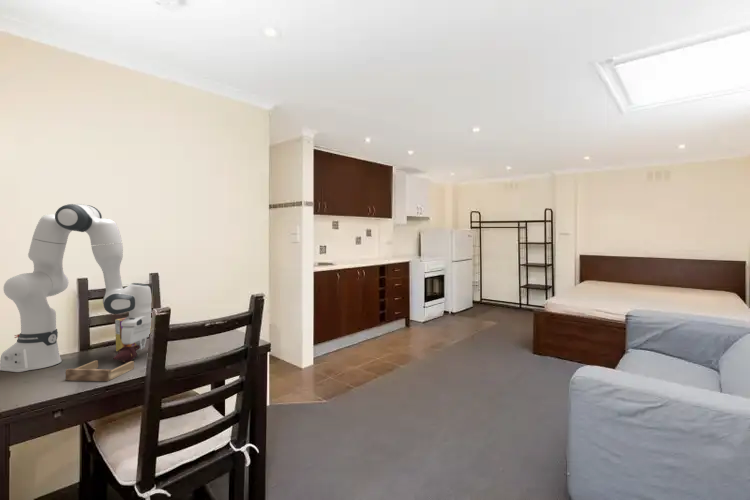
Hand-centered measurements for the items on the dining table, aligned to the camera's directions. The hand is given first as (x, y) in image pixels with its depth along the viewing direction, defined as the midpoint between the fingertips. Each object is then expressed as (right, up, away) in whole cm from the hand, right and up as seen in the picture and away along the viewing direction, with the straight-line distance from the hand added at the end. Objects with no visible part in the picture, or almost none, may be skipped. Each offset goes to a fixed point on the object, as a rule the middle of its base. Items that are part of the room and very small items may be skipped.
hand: (141, 348), depth 172 cm
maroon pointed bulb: (-1, -4, -9) cm, 10 cm away
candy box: (-13, -3, +10) cm, 16 cm away
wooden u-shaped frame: (-1, -4, -24) cm, 24 cm away
